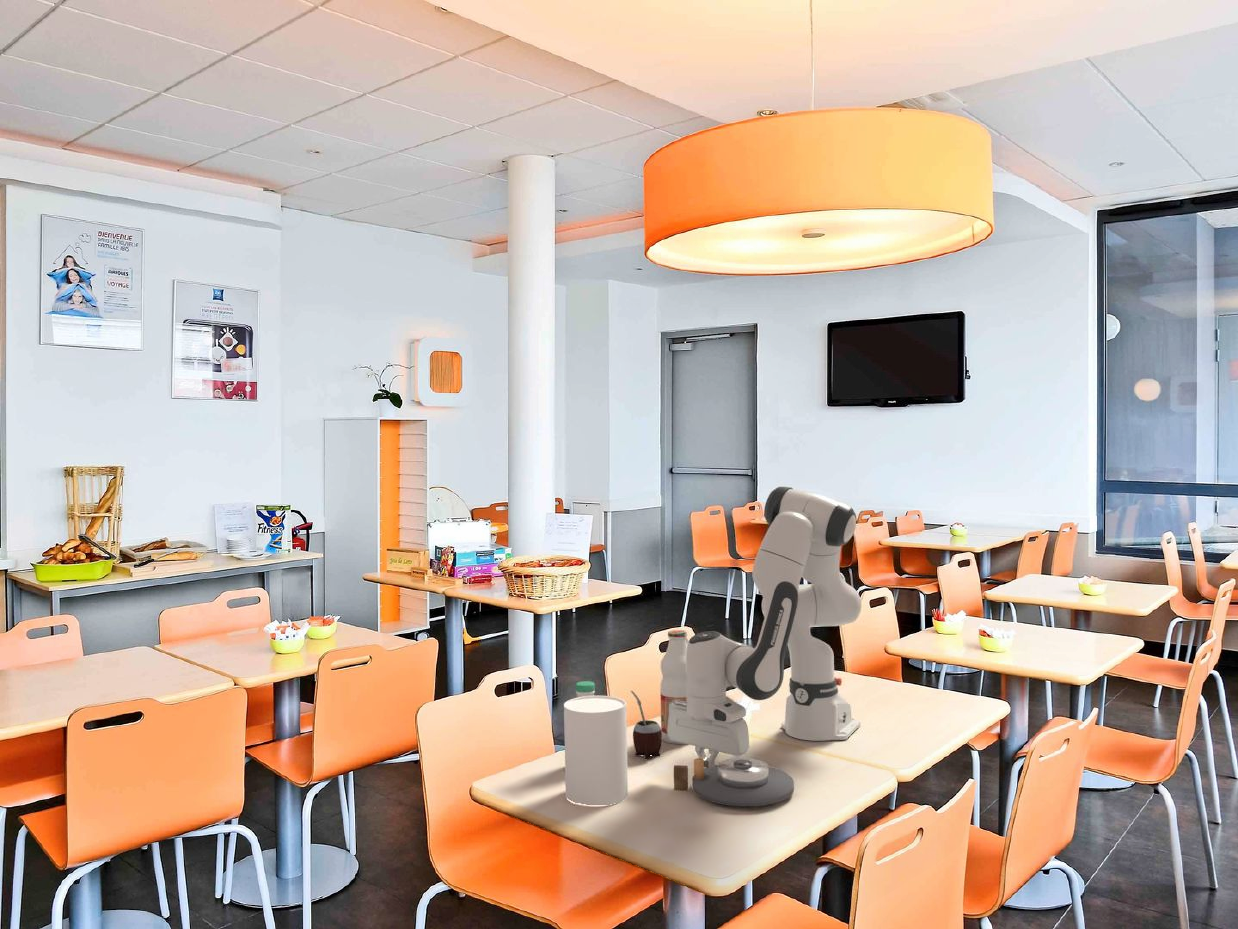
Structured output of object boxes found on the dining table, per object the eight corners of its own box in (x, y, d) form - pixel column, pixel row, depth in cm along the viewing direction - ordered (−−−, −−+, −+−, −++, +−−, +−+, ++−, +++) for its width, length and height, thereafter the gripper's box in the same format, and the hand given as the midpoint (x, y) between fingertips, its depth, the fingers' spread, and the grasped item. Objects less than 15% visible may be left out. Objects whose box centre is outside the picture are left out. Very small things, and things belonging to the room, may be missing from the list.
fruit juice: (678, 747, 233) (676, 636, 233) (653, 739, 240) (651, 631, 240) (705, 739, 239) (703, 631, 238) (680, 731, 246) (678, 626, 246)
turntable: (697, 767, 215) (697, 744, 215) (794, 772, 211) (793, 748, 211) (686, 803, 193) (686, 777, 193) (793, 809, 189) (793, 782, 189)
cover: (720, 770, 209) (719, 753, 209) (769, 772, 207) (769, 755, 207) (715, 787, 198) (715, 770, 198) (767, 790, 196) (767, 772, 196)
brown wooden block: (688, 788, 205) (687, 765, 205) (687, 790, 203) (687, 768, 203) (674, 787, 205) (674, 765, 205) (674, 790, 204) (673, 767, 204)
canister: (639, 790, 204) (637, 700, 204) (607, 811, 193) (605, 715, 192) (587, 780, 211) (585, 693, 211) (553, 800, 199) (551, 707, 199)
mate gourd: (660, 761, 223) (659, 699, 223) (628, 760, 224) (626, 698, 224) (663, 751, 231) (662, 691, 230) (632, 750, 232) (631, 690, 232)
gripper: (660, 701, 211) (662, 761, 211) (736, 717, 198) (737, 781, 198) (677, 695, 216) (678, 754, 216) (752, 710, 202) (753, 772, 203)
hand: (707, 767), depth 207 cm, fingers closed
